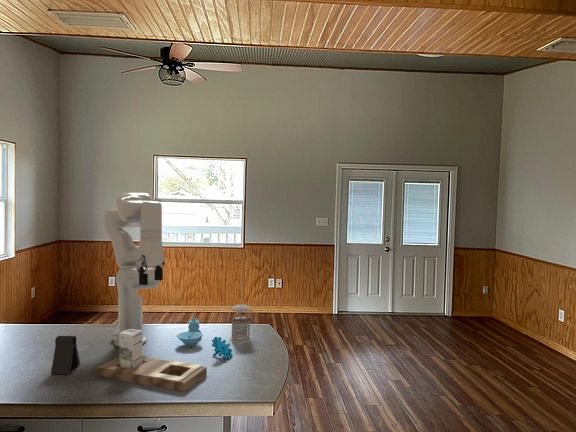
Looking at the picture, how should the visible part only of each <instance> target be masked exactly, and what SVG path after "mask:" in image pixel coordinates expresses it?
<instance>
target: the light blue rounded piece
mask: <svg viewBox="0 0 576 432" xmlns="http://www.w3.org/2000/svg"><path fill="white" fill-rule="evenodd" d="M199 323H200V320H198V319H197V317H196V316H195V317H192V319H190V320H189V321H188V325H187V326H188V330H187V331H183V332H179V333H178V334H176V337H177V339H178V340H180V341H181V342H182V343H183V344H184V345H185V346H186V347H187V348H189V347H193V346H194V345H195V344H196V343H197V342H198V341H200V340H201V339H202V338H203V335H204V334H203V333H202V331H201V330H200V324H199Z"/></svg>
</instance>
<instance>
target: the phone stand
mask: <svg viewBox="0 0 576 432" xmlns="http://www.w3.org/2000/svg"><path fill="white" fill-rule="evenodd" d="M54 342H55V343H54V345H55V346H54V352H53V357H52V358H53V359H52V364H51V370H50V371H51V372H50V375H51V374H53V375H56V376H57V375H60V376H70V374H71V372H72V371H73V372H74V371H75V370H76V369H78V368H79V367H80V366H81V360H80V356H79V351H78V346H77V336H76V335H57V336H56V337H55V341H54ZM79 365H80V366H79ZM78 366H79V367H78ZM77 367H78V368H77ZM53 375H52V376H53Z"/></svg>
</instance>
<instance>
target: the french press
mask: <svg viewBox="0 0 576 432" xmlns="http://www.w3.org/2000/svg"><path fill="white" fill-rule="evenodd" d="M239 286H240V300H242V299H243V298H242V295H243V294H242V293H243V292H242V291H243V290H242V286H245V285H244V282H240V283H239ZM231 310H232V311H234V312H235V313H236V312H239V313H242V312H243V313H244V312H247V314H250V317H251V318H250V317H249V316H248V315H244V314H243V315H242V314H240V315H234V316H233V317H232V320H231V337H230V338H229V340H228V341H229V343H234V344H246V343H249V342H250V343H251V342H252V341H253V339H252V338H251V335H250V333H251V332H250V329H251V327H252V326H253V324H254V321H255V319H253V316H255V314H254V312H253V311H252V310H251V307H250V306H248V305H246V304H242V303H240V304H236V305H234V306H233V307H231ZM250 319H251V320H250ZM251 323H252V324H251Z"/></svg>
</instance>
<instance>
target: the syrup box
mask: <svg viewBox="0 0 576 432" xmlns="http://www.w3.org/2000/svg"><path fill="white" fill-rule="evenodd" d="M142 336H143V330H142V331H141V330H134V329H127V330H124V331H122V332H121V333H119V346H118V347H119V348H118V349H119V351H118V353H119V356H118V357H119V365H120V367H123V368H129V369H134V368H136V367H138V366H140V365H142V357H143V344H142Z"/></svg>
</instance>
